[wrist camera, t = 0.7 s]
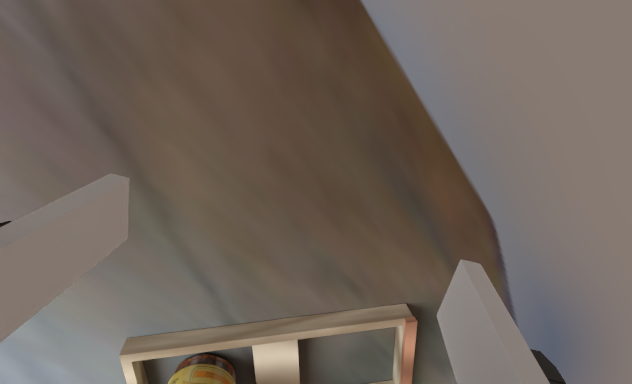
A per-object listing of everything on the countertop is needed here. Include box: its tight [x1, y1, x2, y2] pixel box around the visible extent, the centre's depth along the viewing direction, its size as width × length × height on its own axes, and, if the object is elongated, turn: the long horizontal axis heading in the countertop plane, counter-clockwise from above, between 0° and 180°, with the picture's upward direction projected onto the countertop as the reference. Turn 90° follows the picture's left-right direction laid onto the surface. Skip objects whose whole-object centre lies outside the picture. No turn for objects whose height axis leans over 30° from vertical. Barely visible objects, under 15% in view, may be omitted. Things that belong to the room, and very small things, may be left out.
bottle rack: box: [119, 303, 417, 384], centre depth 35 cm, size 11×26×3 cm, turn 92°
